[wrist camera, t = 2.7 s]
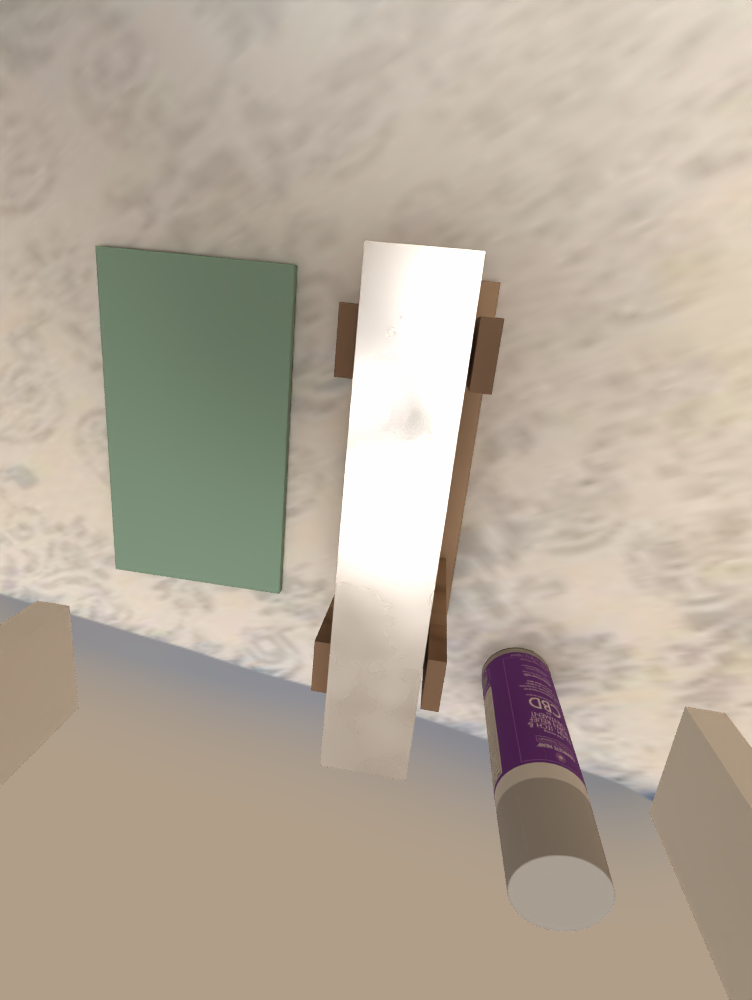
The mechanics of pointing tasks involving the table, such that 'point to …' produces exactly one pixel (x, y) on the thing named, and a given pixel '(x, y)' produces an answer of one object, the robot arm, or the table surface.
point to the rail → (395, 494)
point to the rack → (476, 385)
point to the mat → (197, 413)
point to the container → (541, 799)
